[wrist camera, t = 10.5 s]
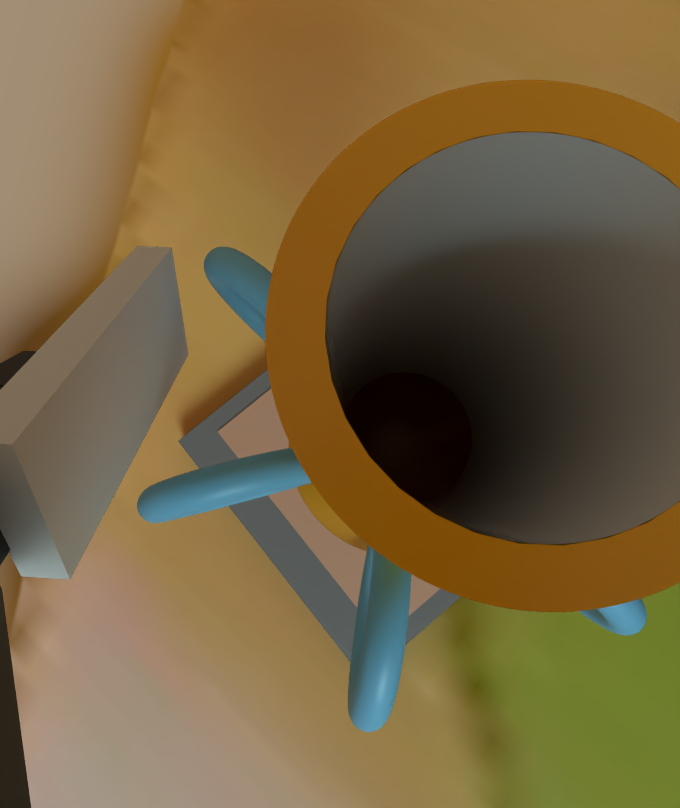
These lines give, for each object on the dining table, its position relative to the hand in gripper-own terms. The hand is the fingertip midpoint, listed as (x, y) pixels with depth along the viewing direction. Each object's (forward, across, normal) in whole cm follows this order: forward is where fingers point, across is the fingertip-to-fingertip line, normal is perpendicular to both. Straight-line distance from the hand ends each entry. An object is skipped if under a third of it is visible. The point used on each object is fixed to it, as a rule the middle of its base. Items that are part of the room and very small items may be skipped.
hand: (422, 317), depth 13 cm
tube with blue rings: (+3, 0, -7) cm, 7 cm away
